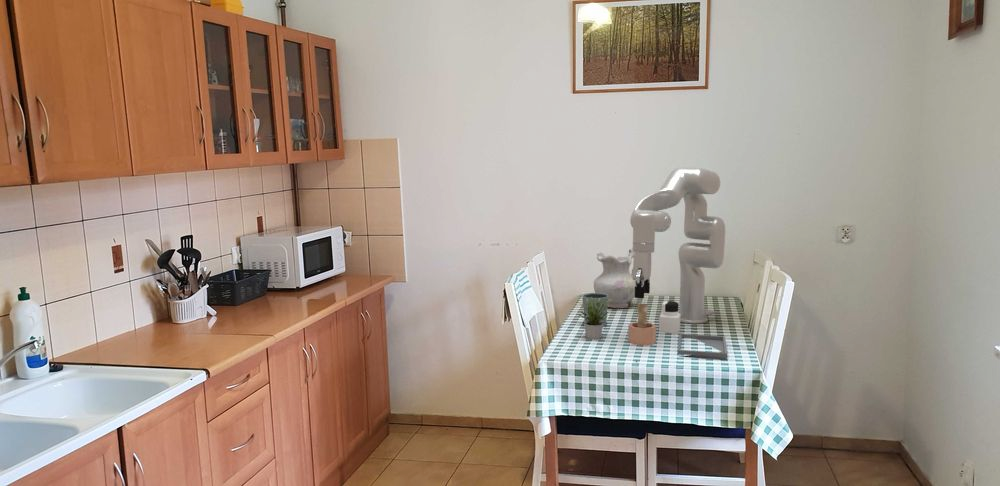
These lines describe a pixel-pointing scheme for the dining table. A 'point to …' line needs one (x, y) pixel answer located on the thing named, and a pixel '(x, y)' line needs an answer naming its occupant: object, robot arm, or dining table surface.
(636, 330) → the cup
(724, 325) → the dining table surface
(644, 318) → the dowel
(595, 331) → the house plant
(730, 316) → the dining table surface
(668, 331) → the medicine bottle
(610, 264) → the ceramic pitcher
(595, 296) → the blue-grey plant pot
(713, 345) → the tray
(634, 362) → the dining table surface
